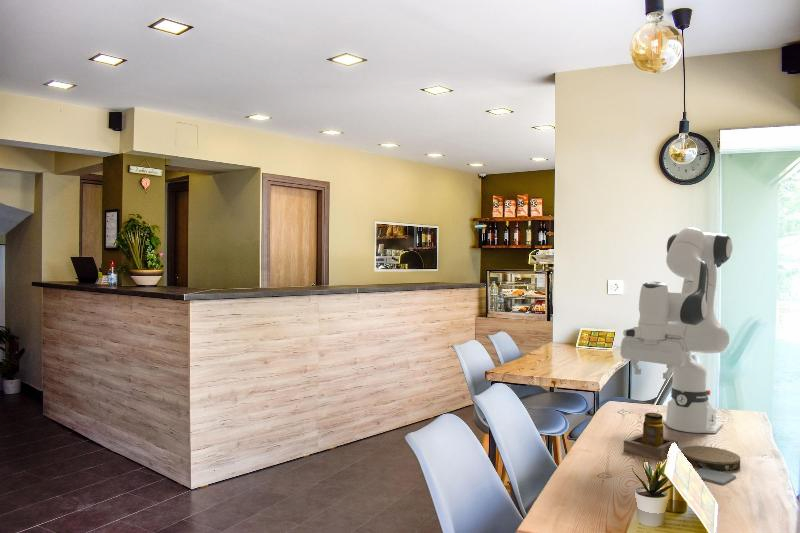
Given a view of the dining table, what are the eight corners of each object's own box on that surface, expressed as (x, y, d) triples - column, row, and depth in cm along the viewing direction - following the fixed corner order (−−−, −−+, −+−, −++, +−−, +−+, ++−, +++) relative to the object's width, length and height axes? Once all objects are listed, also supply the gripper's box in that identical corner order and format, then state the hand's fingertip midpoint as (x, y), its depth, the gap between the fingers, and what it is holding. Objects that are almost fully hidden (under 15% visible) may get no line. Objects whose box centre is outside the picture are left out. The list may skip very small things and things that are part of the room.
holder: (643, 444, 208) (643, 433, 208) (677, 452, 200) (677, 441, 199) (623, 451, 200) (623, 440, 200) (659, 460, 191) (659, 449, 191)
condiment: (668, 453, 199) (669, 415, 199) (652, 457, 194) (653, 418, 194) (648, 447, 205) (649, 410, 205) (632, 451, 200) (633, 413, 200)
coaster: (703, 469, 184) (703, 467, 184) (735, 477, 177) (736, 475, 177) (689, 476, 178) (689, 474, 178) (722, 485, 171) (723, 482, 171)
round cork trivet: (735, 459, 195) (735, 449, 195) (744, 475, 180) (745, 465, 180) (679, 453, 200) (680, 443, 200) (684, 468, 185) (684, 458, 185)
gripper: (690, 335, 194) (689, 380, 194) (628, 329, 209) (627, 370, 209) (681, 336, 189) (679, 382, 190) (618, 330, 205) (617, 372, 205)
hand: (651, 376), depth 199 cm, fingers open, 8 cm apart
